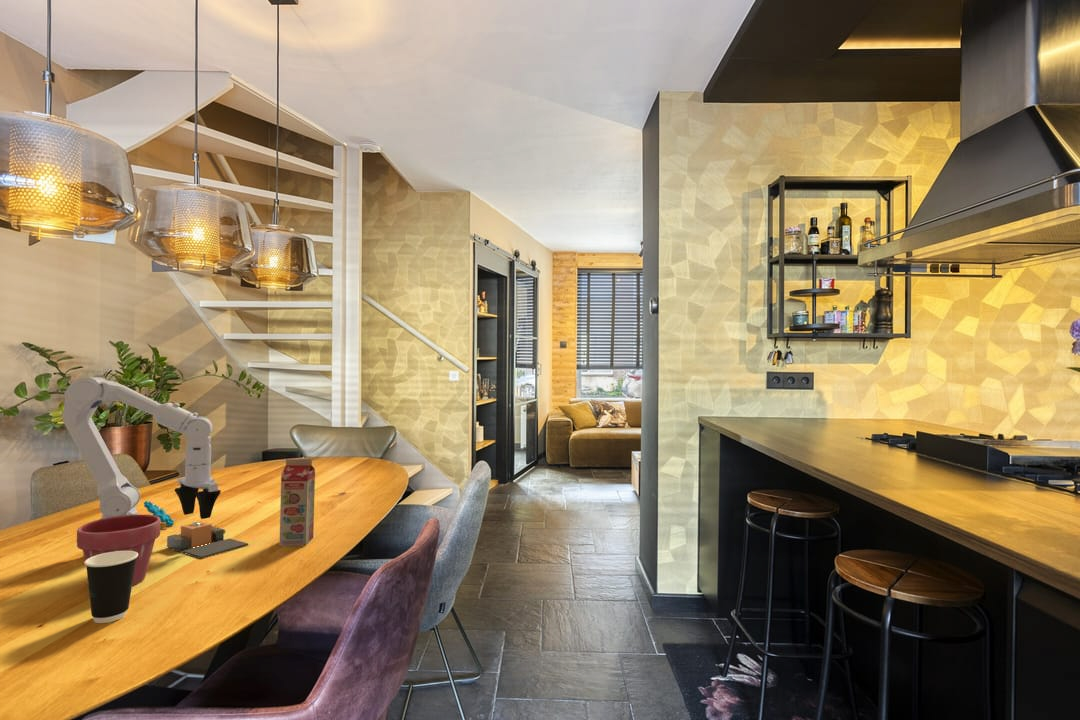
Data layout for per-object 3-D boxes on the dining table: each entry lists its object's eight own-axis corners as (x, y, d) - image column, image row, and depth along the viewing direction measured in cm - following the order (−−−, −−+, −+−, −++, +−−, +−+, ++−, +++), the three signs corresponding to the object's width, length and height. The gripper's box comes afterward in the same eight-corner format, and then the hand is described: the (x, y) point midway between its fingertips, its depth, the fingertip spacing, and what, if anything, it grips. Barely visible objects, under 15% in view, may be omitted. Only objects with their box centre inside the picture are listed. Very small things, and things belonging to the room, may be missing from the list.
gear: (172, 524, 157) (144, 500, 155) (154, 541, 154) (124, 517, 152) (179, 519, 167) (153, 497, 165) (162, 535, 164) (135, 513, 162)
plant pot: (62, 600, 110) (64, 535, 110) (90, 575, 123) (92, 516, 123) (148, 590, 115) (150, 528, 115) (166, 567, 128) (168, 512, 128)
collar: (191, 548, 141) (192, 528, 141) (180, 545, 144) (180, 525, 144) (211, 543, 146) (211, 524, 146) (200, 540, 148) (200, 521, 148)
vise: (180, 552, 138) (180, 530, 139) (166, 548, 141) (167, 526, 141) (230, 538, 150) (231, 518, 150) (217, 535, 153) (217, 515, 153)
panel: (201, 558, 134) (201, 556, 134) (182, 552, 138) (182, 550, 138) (248, 545, 145) (248, 543, 145) (229, 540, 148) (229, 538, 148)
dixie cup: (70, 624, 99) (72, 563, 100) (111, 606, 107) (113, 549, 107) (108, 629, 98) (110, 566, 98) (147, 610, 106) (148, 552, 106)
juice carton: (287, 538, 151) (290, 457, 152) (313, 537, 152) (315, 457, 152) (279, 546, 145) (281, 461, 145) (305, 545, 145) (308, 461, 146)
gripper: (229, 464, 145) (228, 516, 145) (197, 459, 152) (196, 508, 152) (202, 468, 139) (201, 522, 139) (170, 462, 146) (169, 514, 146)
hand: (196, 516), depth 145 cm, fingers open, 7 cm apart
